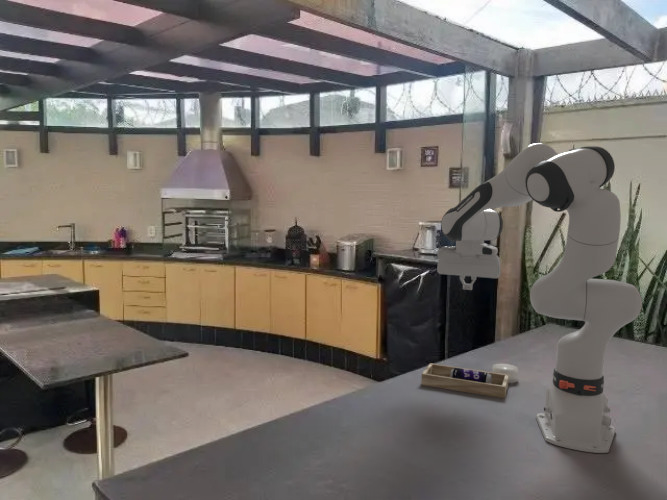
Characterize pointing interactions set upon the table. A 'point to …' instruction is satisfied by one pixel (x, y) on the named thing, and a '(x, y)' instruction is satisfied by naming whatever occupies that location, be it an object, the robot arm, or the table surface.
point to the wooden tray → (464, 381)
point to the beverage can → (471, 375)
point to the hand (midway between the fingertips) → (467, 289)
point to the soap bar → (507, 371)
